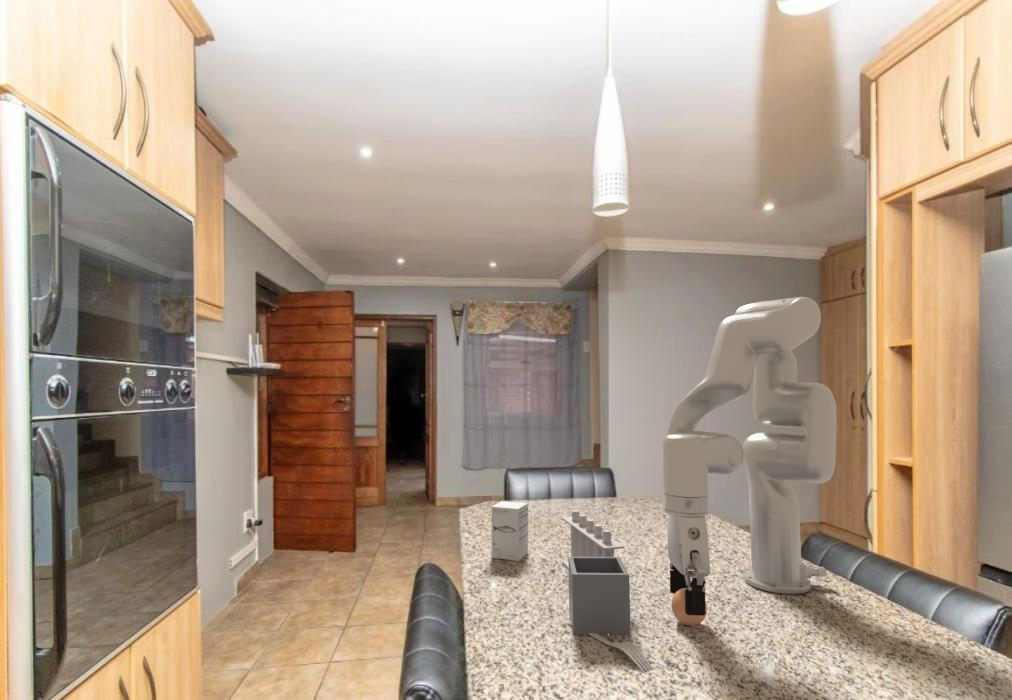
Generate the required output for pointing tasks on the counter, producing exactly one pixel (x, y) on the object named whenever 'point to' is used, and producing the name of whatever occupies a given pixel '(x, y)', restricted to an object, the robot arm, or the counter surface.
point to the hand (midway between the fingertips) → (686, 603)
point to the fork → (623, 646)
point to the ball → (679, 609)
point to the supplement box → (509, 530)
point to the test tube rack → (589, 538)
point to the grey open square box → (599, 596)
